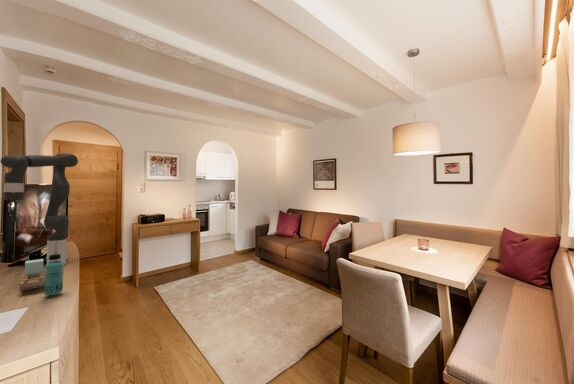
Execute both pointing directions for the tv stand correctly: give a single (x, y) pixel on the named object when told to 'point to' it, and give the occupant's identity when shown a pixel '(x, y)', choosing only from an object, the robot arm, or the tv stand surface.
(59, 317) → the tv stand surface
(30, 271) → the grey rectangular block
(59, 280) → the beverage bottle
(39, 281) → the beam
